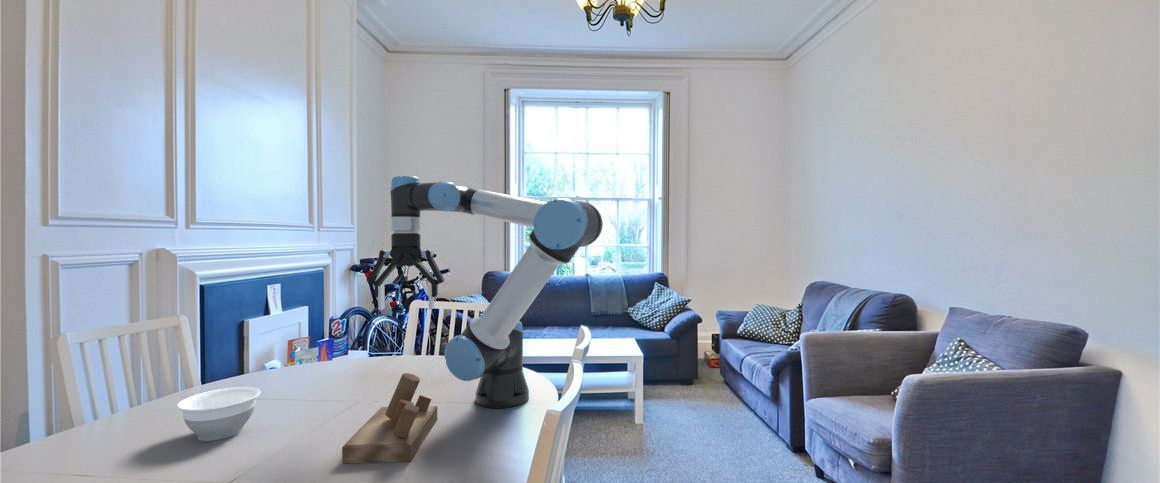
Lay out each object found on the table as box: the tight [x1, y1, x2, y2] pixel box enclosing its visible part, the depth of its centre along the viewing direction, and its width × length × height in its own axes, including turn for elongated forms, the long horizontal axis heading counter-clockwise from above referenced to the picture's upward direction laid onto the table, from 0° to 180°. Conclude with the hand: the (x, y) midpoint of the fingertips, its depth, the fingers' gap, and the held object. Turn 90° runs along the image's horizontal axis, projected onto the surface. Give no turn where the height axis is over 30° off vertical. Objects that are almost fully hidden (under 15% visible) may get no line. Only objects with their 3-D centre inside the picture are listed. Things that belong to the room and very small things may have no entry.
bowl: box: [176, 386, 262, 442], centre depth 112 cm, size 16×16×9 cm
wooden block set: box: [385, 372, 432, 438], centre depth 109 cm, size 18×9×10 cm, turn 9°
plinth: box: [341, 405, 438, 464], centre depth 108 cm, size 14×22×4 cm, turn 3°
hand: (406, 309), depth 129 cm, fingers open, 13 cm apart
